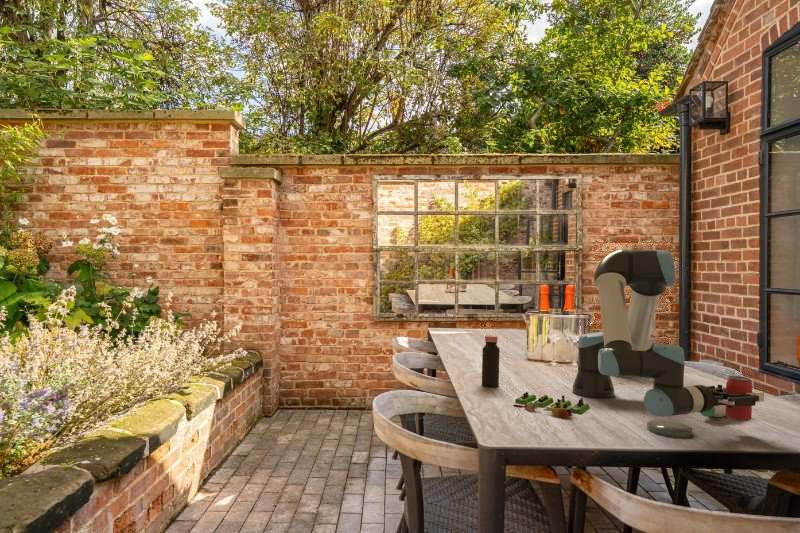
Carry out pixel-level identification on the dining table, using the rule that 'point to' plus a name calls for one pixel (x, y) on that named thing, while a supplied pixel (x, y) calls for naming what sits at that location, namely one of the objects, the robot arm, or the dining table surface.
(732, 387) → the beer can
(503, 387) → the dining table surface
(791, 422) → the dining table surface
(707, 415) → the milk bottle
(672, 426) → the pad
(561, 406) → the toy garden set
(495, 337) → the vinegar
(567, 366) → the dining table surface
